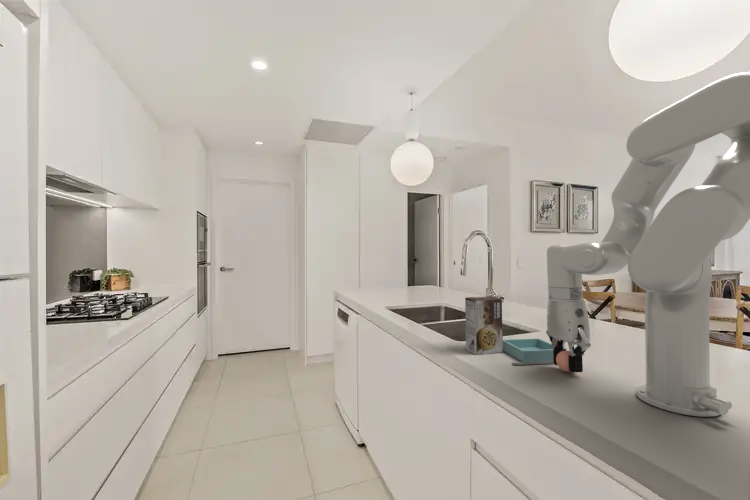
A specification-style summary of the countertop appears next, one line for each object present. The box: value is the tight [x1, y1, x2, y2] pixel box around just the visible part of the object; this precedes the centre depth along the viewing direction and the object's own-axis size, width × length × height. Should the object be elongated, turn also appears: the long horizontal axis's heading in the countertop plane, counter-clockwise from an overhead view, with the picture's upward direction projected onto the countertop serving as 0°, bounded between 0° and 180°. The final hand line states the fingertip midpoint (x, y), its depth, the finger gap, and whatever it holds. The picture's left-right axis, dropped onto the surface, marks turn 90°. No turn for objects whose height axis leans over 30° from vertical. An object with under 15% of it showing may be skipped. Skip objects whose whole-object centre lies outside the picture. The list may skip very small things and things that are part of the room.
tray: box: [503, 337, 554, 363], centre depth 99 cm, size 12×12×3 cm
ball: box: [556, 350, 570, 373], centre depth 85 cm, size 5×5×5 cm
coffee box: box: [464, 295, 504, 356], centre depth 104 cm, size 9×6×16 cm
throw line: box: [511, 361, 554, 367], centre depth 91 cm, size 2×16×1 cm, turn 97°
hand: (567, 367), depth 84 cm, fingers closed on ball, 4 cm apart
